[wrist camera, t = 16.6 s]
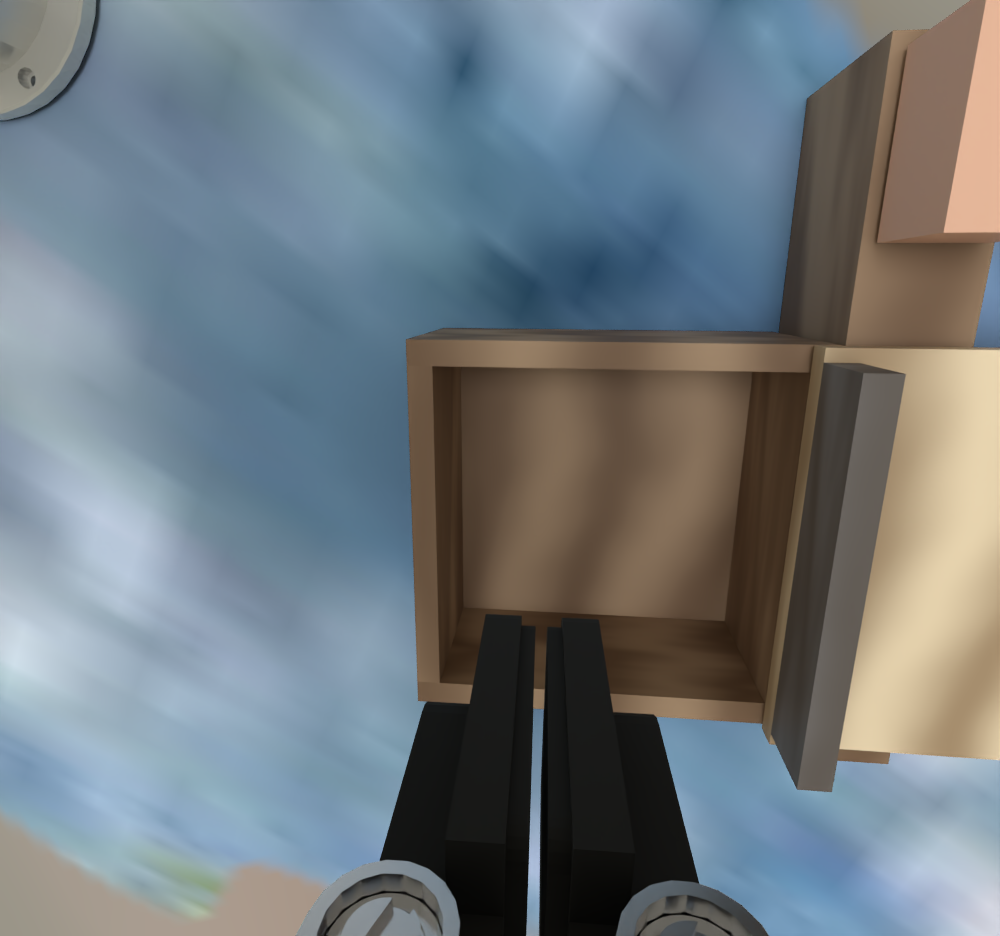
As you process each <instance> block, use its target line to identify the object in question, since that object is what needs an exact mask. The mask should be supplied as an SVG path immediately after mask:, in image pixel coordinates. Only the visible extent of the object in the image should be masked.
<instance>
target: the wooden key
mask: <svg viewBox="0 0 1000 936" xmlns="http://www.w3.org/2000/svg"><path fill="white" fill-rule="evenodd" d="M999 241H1000V0H970V1H969V2H967V3H966V4H965V5H963V6H962V7H960V8H959V9H958V10H956V11H955V12H953V13H952V14H951V15H949V16H948V17H946V18H945V19H944V20H942V21H941V22H939V23H938V24H937V25H935V26H934V27H933V28H931V29H930V30H928V31H927V32H926V33H924V34H923V35H921V36H920V37H919V38H917V39H916V40H914V41H913V42H912V43H910V44H909V45H908V48H907V55H906V61H905V67H904V74H903V80H902V86H901V93H900V99H899V106H898V112H897V118H896V125H895V131H894V137H893V144H892V150H891V157H890V163H889V169H888V176H887V182H886V188H885V195H884V201H883V207H882V214H881V220H880V227H879V233H878V239H877V243H991V242H999Z"/></svg>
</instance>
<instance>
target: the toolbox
mask: <svg viewBox="0 0 1000 936" xmlns="http://www.w3.org/2000/svg"><path fill="white" fill-rule="evenodd" d="M928 30H930V29H928ZM928 30H927V29H926V30H893V31H892V32H890V33H889V34H888V35H887V36H885V37H884V38H883V39H882V40H880V41H879V42H878V43H877V44H875V45H874V46H873V47H872V48H870V49H869V50H868V51H867V52H865V53H864V54H863V55H862V56H860V57H859V58H858V59H856V60H855V61H854V62H853V63H851V64H850V65H849V66H848V67H846V68H845V69H844V70H843V71H841V72H840V73H839V74H838V75H836V76H835V77H834V78H833V79H831V80H830V81H829V82H827V83H826V84H825V85H824V86H822V87H821V88H820V89H819V90H817V91H816V92H815V93H814V94H812V95H811V96H810V97H809V98H807V104H806V113H805V121H804V129H803V137H802V146H801V154H800V162H799V170H798V178H797V187H796V195H795V203H794V211H793V219H792V228H791V236H790V244H789V252H788V261H787V269H786V277H785V285H784V293H783V302H782V310H781V318H780V326H779V333H776V332H753V331H663V330H573V329H484V328H442V329H439V330H436V331H432V332H429V333H426V334H422V335H419V336H416V337H413V338H409V339H406V356H407V385H408V415H409V444H410V474H411V503H412V533H413V562H414V592H415V622H416V651H417V681H418V701H429V702H446V703H464V704H470V698H471V693H472V687H473V681H474V676H475V670H476V665H477V659H478V654H479V648H480V642H481V637H482V631H483V626H484V620H485V615H486V614H498V615H519V616H522V625H523V626H536V631H535V665H534V699H533V708H534V709H544V694H545V668H546V643H547V627H561V620H562V618H582V619H598V620H599V624H600V630H601V637H602V643H603V650H604V656H605V662H606V669H607V675H608V682H609V688H610V695H611V701H612V707H613V712H622V713H640V714H654V715H655V716H656V717H670V718H685V719H700V720H716V721H731V722H746V723H761V724H763V717H764V710H765V703H766V695H767V688H768V681H769V674H770V666H771V659H772V652H773V644H774V637H775V630H776V623H777V615H778V608H779V601H780V594H781V586H782V579H783V572H784V564H785V557H786V550H787V543H788V535H789V528H790V521H791V514H792V506H793V499H794V492H795V484H796V477H797V470H798V463H799V455H800V448H801V441H802V434H803V426H804V419H805V412H806V404H807V397H808V390H809V383H810V375H811V368H812V361H813V354H814V346H815V345H824V346H901V347H973V346H974V341H975V336H976V331H977V326H978V321H979V316H980V311H981V307H982V302H983V297H984V292H985V287H986V282H987V277H988V272H989V267H990V262H991V258H992V253H993V248H994V243H995V242H991V243H877V239H878V233H879V227H880V220H881V214H882V207H883V201H884V195H885V188H886V182H887V176H888V169H889V163H890V157H891V150H892V144H893V137H894V131H895V125H896V118H897V112H898V106H899V99H900V93H901V86H902V80H903V74H904V67H905V61H906V55H907V48H908V45H909V44H910V43H912V42H913V41H914V40H916V39H917V38H919V37H920V36H921V35H923V34H924V33H926V32H927V31H928ZM889 757H890V752H875V751H861V750H846V749H839V753H838V759H837V760H838V761H852V762H866V763H880V764H888V762H889Z"/></svg>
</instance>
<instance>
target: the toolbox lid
mask: <svg viewBox="0 0 1000 936" xmlns="http://www.w3.org/2000/svg"><path fill="white" fill-rule="evenodd" d="M762 729H763V731H764V734H765V736H766V738H767V740H768V742H769V744H773V745H776V746H777V748H778V750H779V752H780V754H781V756H782V759H783V761H784V763H785V765H786V767H787V769H788V771H789V773H790V776H791V778H792V780H793V782H794V784H795V786H796V788H797V790H811V791H824V792H832V787H833V782H834V776H835V770H836V765H837V759H838V753H839V749H846V750H861V751H875V752H890V753H904V754H919V755H934V756H948V757H963V758H977V759H992V760H1000V348H978V347H901V346H824V345H815V346H814V354H813V361H812V368H811V375H810V383H809V390H808V397H807V404H806V412H805V419H804V426H803V434H802V441H801V448H800V455H799V463H798V470H797V477H796V484H795V492H794V499H793V506H792V514H791V521H790V528H789V535H788V543H787V550H786V557H785V564H784V572H783V579H782V586H781V594H780V601H779V608H778V615H777V623H776V630H775V637H774V644H773V652H772V659H771V666H770V674H769V681H768V688H767V695H766V703H765V710H764V717H763V724H762Z"/></svg>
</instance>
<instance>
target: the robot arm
mask: <svg viewBox="0 0 1000 936" xmlns="http://www.w3.org/2000/svg"><path fill="white" fill-rule="evenodd" d="M95 10H96V0H0V120H9V119H13V118H17V117H20V116H24V115H28V114H30V113H32V112H34V111H35V110H37V109H39V108H41V107H43V106H45V105H46V104H48V103H49V102H50V101H51V100H52V99H54V98H55V97H56V96H57V95H58V94H59V93H60V92H61V91H62V90H63V89H64V88H65V87H66V86H67V84H68V83H69V82H70V80H71V79H72V77H73V76H74V74H75V73H76V71H77V70H78V69H79V67H80V64H81V62H82V59H83V57H84V55H85V52H86V50H87V48H88V45H89V42H90V38H91V33H92V29H93V24H94V20H95ZM535 631H536V626H523V625H522V616H519V615H498V614H486V615H485V620H484V626H483V631H482V637H481V642H480V648H479V654H478V659H477V665H476V670H475V676H474V681H473V687H472V693H471V698H470V704H464V703H446V702H429V701H427V702H426V704H425V706H424V708H423V711H422V714H421V718H420V721H419V725H418V728H417V732H416V735H415V739H414V742H413V746H412V749H411V753H410V756H409V760H408V763H407V767H406V770H405V774H404V777H403V781H402V784H401V788H400V791H399V795H398V798H397V802H396V805H395V809H394V812H393V816H392V819H391V823H390V826H389V830H388V833H387V837H386V840H385V844H384V847H383V851H382V854H381V858H380V861H378V862H374V863H369V864H364V865H362V866H360V867H358V868H356V869H354V870H352V871H350V872H348V873H346V874H344V875H342V876H341V877H340V878H338V879H337V880H336V881H335V882H334V883H332V884H331V885H330V886H329V887H328V888H327V889H325V890H324V891H323V892H322V894H321V895H320V896H319V898H318V899H317V901H316V902H315V903H314V905H313V907H312V908H311V910H309V912H308V914H307V915H306V917H305V919H304V921H303V923H302V925H301V927H300V929H299V930H298V932H297V935H296V936H526V924H527V894H528V865H529V834H530V801H531V767H532V733H533V699H534V665H535ZM539 936H769V935H768V934H767V932H766V931H765V929H764V927H763V926H762V925H761V924H760V923H759V922H758V921H757V920H756V919H755V918H754V917H753V916H752V915H751V914H750V913H749V912H748V911H747V910H746V909H745V908H744V907H743V906H742V905H741V904H739V903H737V902H736V901H734V900H733V899H731V898H729V897H728V896H726V895H725V894H723V893H722V892H720V891H718V890H715V889H712V888H710V887H707V886H704V885H701V884H699V881H698V877H697V873H696V869H695V865H694V861H693V857H692V853H691V849H690V845H689V842H688V838H687V834H686V830H685V826H684V822H683V818H682V814H681V810H680V806H679V802H678V798H677V794H676V790H675V786H674V782H673V778H672V774H671V771H670V767H669V763H668V759H667V755H666V751H665V747H664V743H663V739H662V735H661V731H660V727H659V724H658V721H657V718H656V716H655V715H654V714H640V713H622V712H613V707H612V701H611V695H610V688H609V682H608V675H607V669H606V662H605V656H604V650H603V643H602V637H601V630H600V624H599V620H598V619H582V618H562V620H561V627H547V643H546V668H545V694H544V719H543V744H542V769H541V813H540V913H539Z"/></svg>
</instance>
